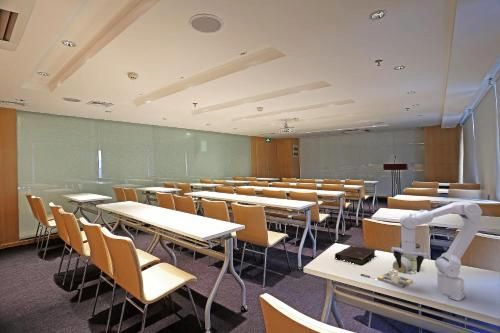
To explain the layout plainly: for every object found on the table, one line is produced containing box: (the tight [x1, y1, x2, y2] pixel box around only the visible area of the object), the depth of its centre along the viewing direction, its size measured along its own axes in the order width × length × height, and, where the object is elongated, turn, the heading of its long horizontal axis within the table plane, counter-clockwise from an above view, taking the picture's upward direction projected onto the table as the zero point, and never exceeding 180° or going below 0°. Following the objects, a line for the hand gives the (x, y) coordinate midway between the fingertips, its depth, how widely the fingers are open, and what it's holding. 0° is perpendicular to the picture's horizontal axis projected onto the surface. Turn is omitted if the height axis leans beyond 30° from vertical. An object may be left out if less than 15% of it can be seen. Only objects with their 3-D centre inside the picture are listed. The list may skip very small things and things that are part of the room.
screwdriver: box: [360, 273, 379, 281], centre depth 136 cm, size 10×2×2 cm, turn 45°
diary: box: [334, 245, 377, 267], centre depth 171 cm, size 19×25×5 cm
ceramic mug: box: [392, 257, 417, 275], centre depth 145 cm, size 11×8×8 cm
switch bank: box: [377, 272, 413, 289], centre depth 132 cm, size 12×11×2 cm
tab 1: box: [388, 268, 399, 277], centre depth 135 cm, size 3×3×5 cm
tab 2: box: [391, 273, 401, 284], centre depth 129 cm, size 3×3×5 cm
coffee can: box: [399, 242, 422, 272], centre depth 152 cm, size 10×10×14 cm
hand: (408, 269), depth 124 cm, fingers open, 7 cm apart
